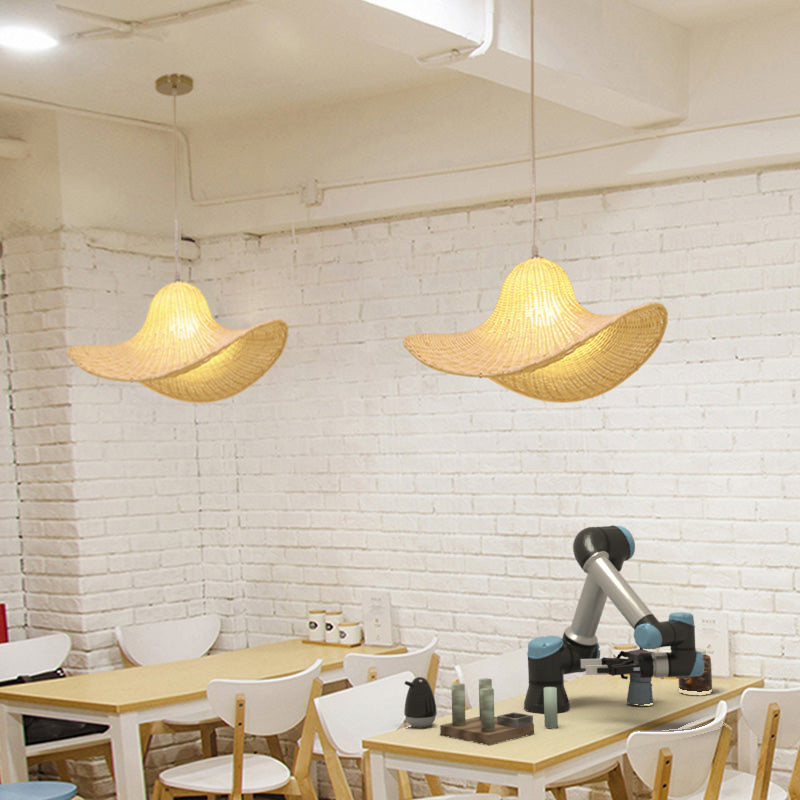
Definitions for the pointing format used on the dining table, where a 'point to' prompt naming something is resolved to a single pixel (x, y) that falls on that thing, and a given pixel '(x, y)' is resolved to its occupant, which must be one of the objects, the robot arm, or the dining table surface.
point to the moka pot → (637, 682)
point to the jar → (699, 677)
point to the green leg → (550, 707)
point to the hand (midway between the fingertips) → (583, 666)
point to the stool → (484, 718)
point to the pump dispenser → (420, 703)
